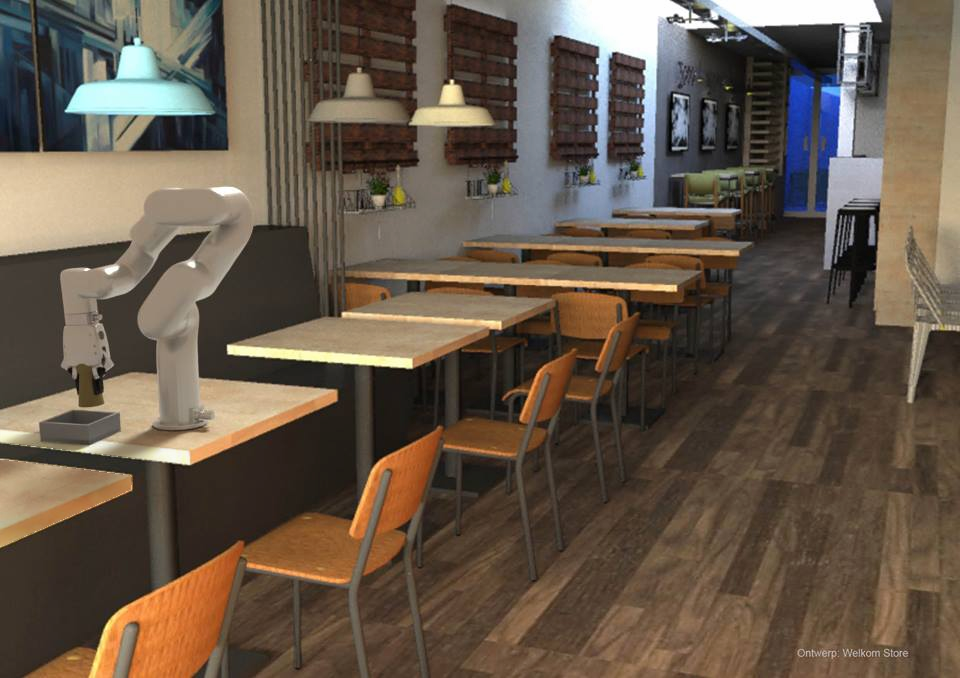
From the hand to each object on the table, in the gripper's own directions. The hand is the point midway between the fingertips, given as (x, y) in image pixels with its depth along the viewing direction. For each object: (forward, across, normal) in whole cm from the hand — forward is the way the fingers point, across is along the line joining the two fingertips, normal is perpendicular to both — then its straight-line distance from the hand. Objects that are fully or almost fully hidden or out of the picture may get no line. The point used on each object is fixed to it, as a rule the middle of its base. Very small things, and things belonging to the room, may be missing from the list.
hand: (90, 393), depth 262 cm
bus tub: (+7, -5, +13) cm, 16 cm away
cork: (+3, 0, 0) cm, 3 cm away
